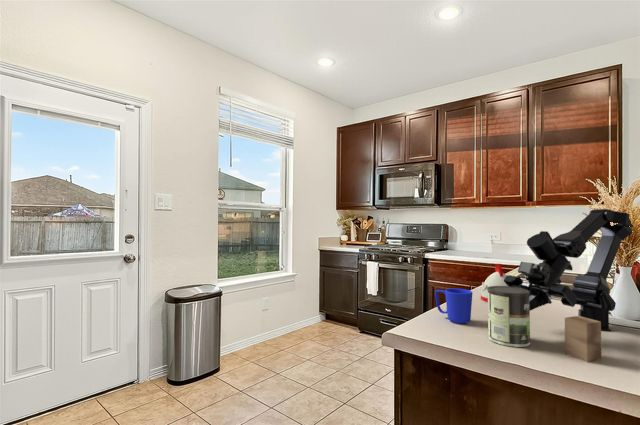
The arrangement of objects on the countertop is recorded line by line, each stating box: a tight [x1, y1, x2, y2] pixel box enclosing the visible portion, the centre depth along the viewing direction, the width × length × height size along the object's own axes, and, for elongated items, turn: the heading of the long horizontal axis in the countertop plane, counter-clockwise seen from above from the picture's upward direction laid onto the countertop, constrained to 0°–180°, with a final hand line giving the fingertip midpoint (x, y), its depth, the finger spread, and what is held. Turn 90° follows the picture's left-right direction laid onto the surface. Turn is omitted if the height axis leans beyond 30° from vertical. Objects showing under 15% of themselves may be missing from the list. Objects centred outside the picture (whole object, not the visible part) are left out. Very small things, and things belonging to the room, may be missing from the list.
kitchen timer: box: [480, 263, 508, 303], centre depth 136 cm, size 14×14×15 cm
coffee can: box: [487, 286, 531, 348], centre depth 91 cm, size 10×10×14 cm
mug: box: [434, 287, 473, 325], centre depth 109 cm, size 8×12×10 cm
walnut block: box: [564, 315, 602, 363], centre depth 80 cm, size 5×5×9 cm
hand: (522, 311), depth 93 cm, fingers closed, pressing on coffee can
